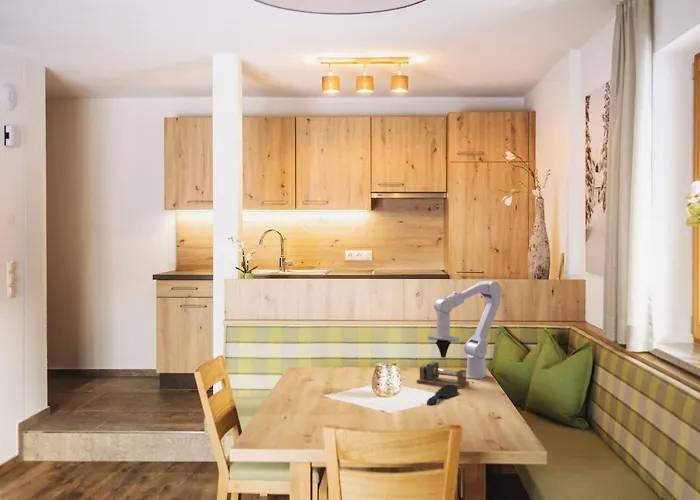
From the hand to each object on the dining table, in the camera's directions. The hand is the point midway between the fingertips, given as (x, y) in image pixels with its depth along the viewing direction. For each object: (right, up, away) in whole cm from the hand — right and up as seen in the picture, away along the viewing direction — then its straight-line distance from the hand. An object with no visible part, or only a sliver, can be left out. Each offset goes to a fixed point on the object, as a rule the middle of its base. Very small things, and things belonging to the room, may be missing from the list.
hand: (443, 357), depth 297 cm
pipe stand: (-1, -11, -5) cm, 12 cm away
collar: (-5, -9, -2) cm, 10 cm away
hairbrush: (-5, -12, -29) cm, 32 cm away
